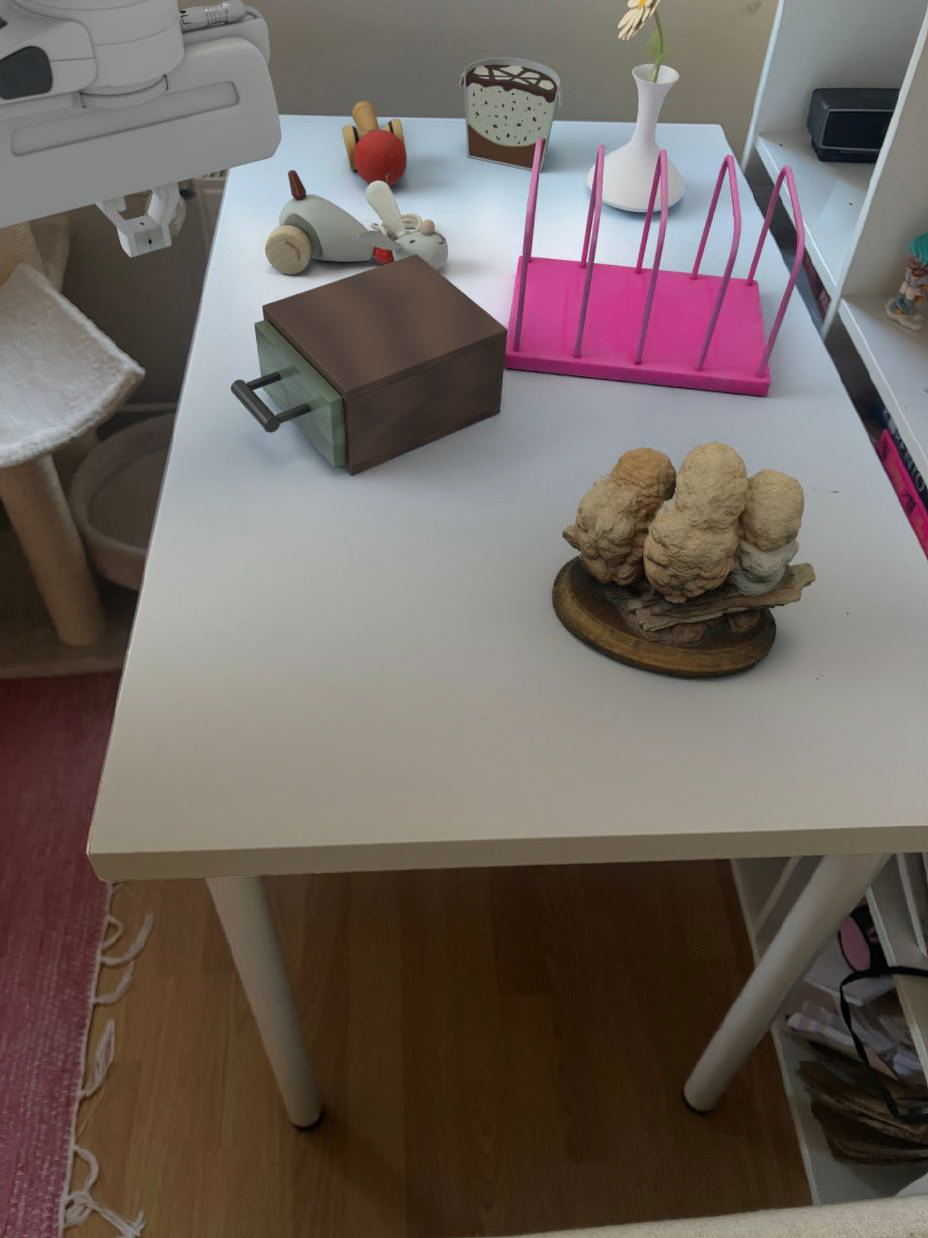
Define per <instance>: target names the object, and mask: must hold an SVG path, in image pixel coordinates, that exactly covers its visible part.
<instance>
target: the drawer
mask: <svg viewBox="0 0 928 1238" xmlns="http://www.w3.org/2000/svg"><path fill="white" fill-rule="evenodd" d="M253 325H254V334H255V341H256V348H257V356H258V363H259V371H260V377H258V378H255V379H252V380H249V381H247V382H246V381H245V380H243V379H237V380H235V381H233V382H232V384H231V385H230V392H231V393H232V394H233V395H234V396H235V397H236V399H237V400H238V401H239V402H240V404H241V405H242V406H243V407H244V408H245V409H246V410H247V412H249V414H250V415H251V416H252V417H253V418H254V419H255V420H256V422H257V423H258V424H259V425H260V426H261V428H262V429H264V431H265V432H266V433H270V434H271V433H275V432H277V431H278V430H279V428H280V426H281V424H283V423H286V422H288V421H291V422H292V423H293V424H294V426H296V428H298V430H299V431H300V432H301V433H302V435H304V437H306V439H308V441H309V442H310V443H311V444H312V445H313V446H314V447H315V448H316V450H317V451H318V452H320V454H321V455H322V456H323V457H324V458H325V460H326V461H328V463H329V464H330V465H331V466H332V467H333V468H334V469H337V468H339V467H343V466H342V465H344V464H346V463H347V459H346V441H345V424H344V406H343V397H342V396H341V395H340V394H339V393H338V392H337V391H336V390H335V389H334V388H333V387H332V386H331V385H330V384H329V383H328V382H327V381H326V380H325V379H324V378H323V377H322V376H321V375H320V374H319V373H318V372H317V371H316V370H315V369H314V367H313V366H312V365H311V364H310V363H309V362H308V361H307V360H306V359H305V358H304V357H303V356H302V355H301V354H300V352H299V351H298V350H297V349H296V348H295V347H294V346H293V345H292V344H291V342H290V341H289V340H288V341H287V340H286V339H285V338H284V337H283V336H282V335H281V334H280V333H279V332H278V331H277V330H276V329H275V328H274V327H273V326H272V325H271V323H270V322H269V321H268V320H267V319H265V320H264V319H263V320H259V321H256V322H254V323H253ZM260 388H262V390H263V391H264V392H265V393H266V395H267V396H268V397H269V398H270V399H271V400H272V401H273V402H274V403H275V405H277V406H278V408H279V409H280V410H281V411H282V412H279V413H276V414H275V413H274V412H273V411H272V410H271V408H269V407H268V406H267V404H266V403H265V402H264V401H263V400H262V399H261V398H260V397H259V396H258V394H256V392H255V390H258V389H260Z"/></svg>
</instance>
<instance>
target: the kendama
mask: <svg viewBox="0 0 928 1238" xmlns="http://www.w3.org/2000/svg"><path fill="white" fill-rule="evenodd" d="M351 116H352V117H351V118H352V120H353V122H354V123H355V125H356V127H355V126H354V125H353V124H347V125H343V126H341V130H342V137H343V142H344V147H345V151H346V156H347V161H348V165H349V170H350V171H356V172H357V173H358V175H359V177H360V178H361V179H362V180H363V181H364V182H366V183H367V184H368V185H370V184H371V183H372V182H374V181H383V182H385V183H386V184H388V186H389V187H391V186H392V185H395V184H396V183H397V182H399V181H400V179H401V178H402V177H403V175H404V173H405V171H406V168H407V161H408V159H407V158H408V157H407V150H406V142H405V141H406V140H405V137H404V131H403V126H402V123H401V120H400V118H392V119H390V121H389V122H388V123H387V124H386V125H385V126H384V127H383V128H381V129H380V127H379V121H378V117H377V111H376V108H375V106H373V104H372V103H371V102H369V101H366V100H363V101H359V102H357V103H356V104H355V105H354V106H353V108H352V112H351Z"/></svg>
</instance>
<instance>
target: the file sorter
mask: <svg viewBox="0 0 928 1238" xmlns="http://www.w3.org/2000/svg"><path fill="white" fill-rule="evenodd" d="M605 147H606V146H605V144H599V145H598V148H597V152H596V153H597V154H596V160H595V163H596V165H595V171H594V178H593V185H592V191H590V199H589V204H588V212H587V217H586V218H587V219H586V226H585V231H584V238H583V239H584V240H583V244H582V245H583V246H582V252H581V258H580V260H571V259H559V258H548V257H538V256H532V253H533V252H532V251H533V242H534V231H535V223H536V222H535V221H536V212H537V204H538V203H537V202H538V193H539V192H538V191H539V181H540V173H539V172H540V163H541V153H542V139H540V138H537V141H536V148H535V154H534V161H533V168H532V171H531V175H530V181H529V189H528V195H527V202H526V203H527V204H526V212H525V223H524V230H523V231H524V233H523V243H522V255H519V256H518V260H517V266H516V273H515V280H514V286H513V293H512V294H513V295H512V302H511V308H510V309H511V310H510V316H509V321H508V327H507V329H508V333H507V343H506V354H505V364H504V368H506V369H514V370H524V371H533V372H543V373H552V374H560V375H568V376H569V375H570V376H578V377H579V376H580V377H587V378H595V379H596V378H597V379H603V380H604V379H605V380H614V381H622V382H623V381H625V382H632V383H641V384H651V385H658V386H659V385H661V386H668V387H669V386H670V387H678V388H679V387H680V388H689V389H697V390H705V391H716V392H724V393H725V392H726V393H732V394H733V393H735V394H744V395H751V396H752V395H753V396H761V397H765V396H767V395H768V393H769V389H770V386H771V383H772V377H771V369H770V362H769V361H770V358H771V356H772V353H773V350H774V347H775V344H776V341H777V338H778V335H779V332H780V329H781V326H782V325H783V324H782V323H783V321H784V317H785V315H786V312H787V309H788V306H789V303H790V299H791V298H792V295H793V291H794V289H795V286H796V283H797V280H798V277H799V274H800V270H801V267H802V262H803V258H804V253H805V245H806V231H805V225H804V219H803V214H802V209H801V206H800V205H801V204H800V201H799V194H798V191H797V185H796V181H795V176H794V172H793V168H792V166H790V165H784V166H783V167H782V168H781V169H780V171H779V173H778V176H777V178H776V181H775V184H774V188H773V191H772V195H771V197H770V201H769V204H768V208H767V211H766V215H765V218H764V221H763V224H762V228H761V231H760V234H759V238H758V241H757V244H756V248H755V251H754V255H753V259H752V260H751V261H752V262H751V264H750V268H749V272H748V275H747V278H739V277H732V274H733V270H734V267H735V263H736V259H737V256H738V251H739V246H740V241H741V233H742V212H741V204H740V195H739V187H738V186H739V185H738V180H737V172H736V171H737V170H736V164H735V162H736V161H735V157H734V155H732V154H726V155H725V156H724V158H723V160H722V163H721V165H720V169H719V172H718V177H717V180H716V183H715V186H714V190H713V194H712V198H711V202H710V205H709V209H708V211H707V212H708V213H707V217H706V220H705V223H704V227H703V230H702V235H701V238H700V241H699V244H698V245H699V246H698V249H697V252H696V257H695V261H694V264H693V268H692V271H691V272H685V271H676V270H675V271H674V270H667V269H666V270H665V269H660V266H661V260H662V256H663V250H664V244H665V238H666V232H667V223H668V214H669V208H668V174H667V158H668V151H667V149H659V150H660V152H659V155H658V159H657V164H656V169H655V174H654V179H653V184H652V189H651V194H650V199H649V204H648V209H647V212H646V214H645V220H644V225H643V230H642V235H641V240H640V245H639V251H638V256H637V261H636V266H627V265H618V264H617V265H616V264H609V263H608V264H607V263H598V262H595V260H596V258H595V257H596V252H597V247H598V246H597V245H598V237H599V230H600V222H601V214H602V203H603V202H602V187H603V171H604V156H605V152H606V149H605ZM727 170H728V179H729V180H728V181H729V189H730V197H731V205H732V206H731V207H732V217H733V234H732V242H731V247H730V251H729V252H730V253H729V255H728V259H727V261H726V262H727V263H726V266H725V269H724V273H723V276H722V275H721V276H720V275H710V274H704V273H703V274H702V273H699V271H700V266H701V263H702V258H703V256H704V251H705V248H706V245H707V241H708V237H709V233H710V230H711V226H712V223H713V219H714V216H715V213H716V209H717V205H718V201H719V198H720V194H721V191H722V187H723V183H724V180H725V177H726V172H727ZM660 174H661V210H660V220H659V228H658V236H657V243H656V248H655V253H654V259H653V264H652V268H647V267H643V263H644V258H645V255H646V254H645V253H646V249H647V245H648V244H647V243H648V238H649V234H650V229H651V224H652V219H653V213H654V211H653V209H654V204H655V199H656V194H657V189H658V184H659V179H660ZM785 178H786V184H787V188H788V189H787V190H788V193H789V199H790V202H791V207H792V213H793V214H792V215H793V220H794V225H795V229H796V237H797V238H796V239H797V240H796V252H795V257H794V261H793V265H792V266H793V267H792V269H791V272H790V274H789V275H790V276H789V278H788V281H787V284H786V288H785V290H784V293H783V296H782V299H781V301H780V304H779V307H778V310H777V313H776V315H775V316H776V317H775V319H774V322H773V325H772V329H771V332H770V334H769V336H768V339H766V332H765V325H764V319H763V318H764V317H763V310H762V303H761V295H760V285H759V282H758V280H756V279H754V278H755V275H756V272H757V268H758V265H759V261H760V258H761V255H762V252H763V248H764V245H765V241H766V238H767V234H768V232H769V228H770V225H771V221H772V219H773V215H774V212H775V208H776V204H777V203H778V202H777V201H778V198H779V194H780V192H781V189H782V185H783V183H784V179H785Z"/></svg>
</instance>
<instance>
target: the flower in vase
mask: <svg viewBox="0 0 928 1238" xmlns="http://www.w3.org/2000/svg"><path fill="white" fill-rule="evenodd" d="M661 1H662V0H628V2H627V7H628V8H629V9H630V10H628V11H627V12H626V13H625V14H624V16H623V17H622V19H621V20H620V21H619V23H618V25H617V29H622V30H621V31H620V32H619V34H618V36H617V38H618V39H622V41H625V40H626V41H629V40H630V39H631V38H632V37H635V36H637V34H638V33H639V32H640V30H642V29H643V27H644V26H645V25H646V23H647V21H648V20H650V19H651V18H652V17H653V15H654V19H655V23H656V27H657V29H655V31H653V33H652V34H651V36H650V37H649V39H648V41H647V43H646V44H647V45H646V48H647V51H648V53H649V55H650V56H651V59H652V60H653V61H654V63H644V64H640V65H636V66H635V67H634V68H632V70H631V73H632V77H633V78H634V81H635V83H636V86H637V87H636V88H637V92H638V107H637V108H638V109H637V117H636V123H635V128H634V132H633V135H632V137H631V138H630V140H629V141H628V142H627V143H626V144H624V145H622V146H620V147H619V148H616V149H615V150H613V151H611V152H610V153H608V154H606V155H604V171H603V187H602V203H603V204H605V205H608V206H610V207H612V208H615V209H619V210H622V211H626V212H636V213H647V209H648V204H649V199H650V194H651V189H652V184H653V179H654V174H655V169H656V164H657V159H658V155H659V152H660V150H661V149H659V146H657V142H656V130H657V124H658V120H659V115H660V112H661V109H662V107H663V106H662V105H663V103H664V101H665V98H666V96H667V94H668V92H669V91H670V90H671V88H672V87H673V86H674V85H675V83H676V82H677V81H678V80H679V79H680V75H679V73H678V71H676V69H674V68H672V67H670V66H667V65H663V64H664V62H665V61H667V60H668V58H669V57H670V54H671V53H670V48H669V46H668V44H667V41H666V39H665V36H664V34H663V29H662V24H661V21H660V17H659V12H658V10H657V8H658V6H659V5H660V3H661ZM595 165H596V162H595V163H594V164H593V165H592V166H591V168H590V169H589V171H588V173H587V175H586V184H587V186H588V189H589V191H590V192H591V191H592V185H593V178H594V171H595ZM667 174H668V209H669V208H671V207H673V206H674V205H676V204H677V203H678V202H679V201H680V200H681V199H682V197H683V196H684V194H685V181H684V178H683V175H682V174H681V173H680V171H679V169H678V168H677V167H676V165H675V164H674V163H673V162H672V161H671V160H670V159H669V158H668V157H667ZM660 211H661V174H660V179H659V184H658V189H657V194H656V199H655V204H654V209H653V212H660Z"/></svg>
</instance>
